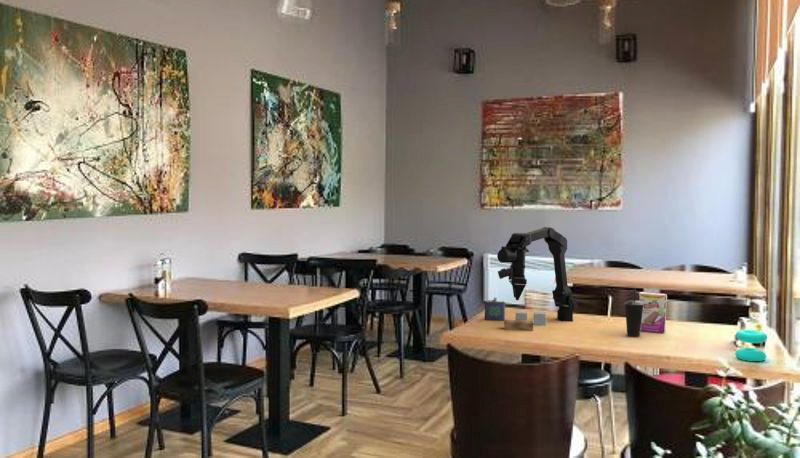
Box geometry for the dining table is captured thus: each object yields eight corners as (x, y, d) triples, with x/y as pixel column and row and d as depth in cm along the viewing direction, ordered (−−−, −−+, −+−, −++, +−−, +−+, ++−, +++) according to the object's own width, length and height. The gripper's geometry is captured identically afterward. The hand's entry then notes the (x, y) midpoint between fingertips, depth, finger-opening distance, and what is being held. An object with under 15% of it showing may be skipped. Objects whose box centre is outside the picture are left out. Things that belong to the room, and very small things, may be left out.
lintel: (532, 329, 296) (532, 320, 295) (532, 332, 291) (533, 322, 290) (504, 328, 297) (504, 319, 297) (504, 331, 292) (504, 321, 292)
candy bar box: (637, 331, 294) (638, 293, 293) (638, 329, 298) (639, 291, 297) (664, 333, 289) (666, 295, 288) (665, 331, 293) (667, 293, 292)
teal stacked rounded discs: (766, 330, 249) (768, 335, 240) (764, 357, 250) (767, 363, 241) (735, 327, 253) (736, 333, 244) (734, 354, 254) (735, 360, 245)
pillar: (544, 323, 307) (545, 312, 307) (545, 325, 302) (545, 314, 302) (533, 322, 308) (533, 311, 308) (533, 325, 303) (533, 313, 303)
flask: (504, 320, 315) (504, 297, 314) (505, 321, 312) (505, 298, 311) (484, 320, 315) (484, 296, 315) (484, 321, 312) (485, 297, 312)
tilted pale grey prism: (526, 322, 308) (527, 311, 308) (526, 324, 304) (527, 313, 303) (515, 322, 309) (515, 311, 309) (515, 324, 304) (515, 313, 304)
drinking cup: (642, 334, 287) (644, 287, 285) (643, 338, 279) (644, 289, 278) (623, 333, 289) (625, 286, 288) (623, 336, 282) (624, 288, 281)
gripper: (498, 259, 304) (496, 295, 304) (500, 263, 285) (498, 300, 285) (523, 261, 303) (521, 296, 303) (527, 264, 284) (525, 302, 284)
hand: (516, 298), depth 294 cm, fingers open, 9 cm apart
